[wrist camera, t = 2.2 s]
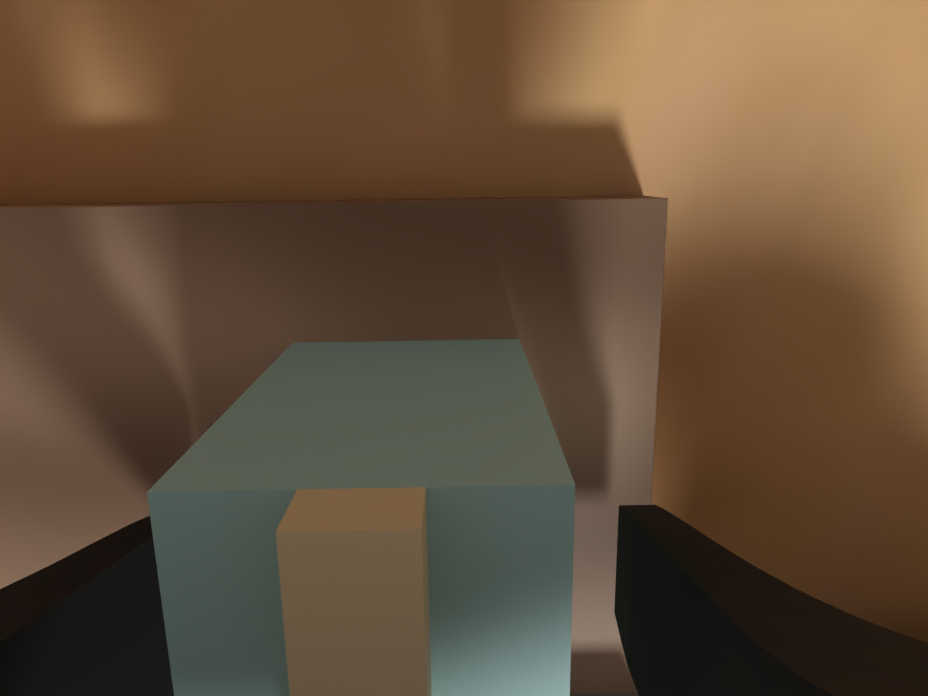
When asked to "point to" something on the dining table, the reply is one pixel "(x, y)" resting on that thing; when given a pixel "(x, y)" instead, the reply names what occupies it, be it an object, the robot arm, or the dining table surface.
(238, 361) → the board
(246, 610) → the teal and beige block
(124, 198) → the dining table surface
